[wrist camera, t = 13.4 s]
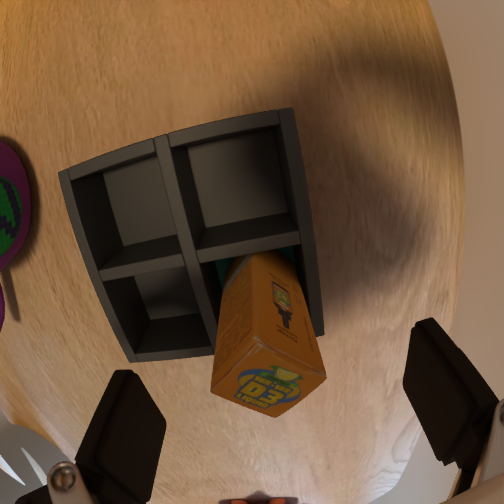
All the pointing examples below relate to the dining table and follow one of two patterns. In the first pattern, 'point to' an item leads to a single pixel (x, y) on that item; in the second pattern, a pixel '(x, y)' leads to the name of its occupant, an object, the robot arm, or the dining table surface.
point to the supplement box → (265, 336)
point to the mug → (12, 210)
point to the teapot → (273, 503)
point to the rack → (190, 227)
